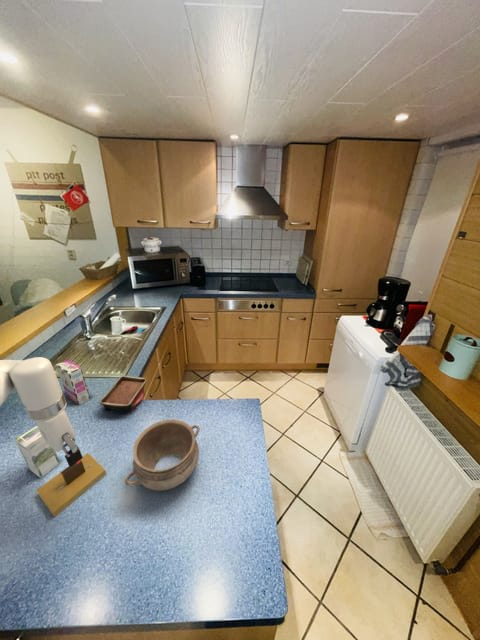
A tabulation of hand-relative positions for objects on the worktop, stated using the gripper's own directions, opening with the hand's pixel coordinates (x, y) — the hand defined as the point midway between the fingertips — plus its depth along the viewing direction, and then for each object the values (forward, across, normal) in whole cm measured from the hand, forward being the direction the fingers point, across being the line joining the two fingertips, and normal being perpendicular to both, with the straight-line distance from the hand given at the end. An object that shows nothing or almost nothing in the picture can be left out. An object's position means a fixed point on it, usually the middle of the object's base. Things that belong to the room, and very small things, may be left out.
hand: (67, 452), depth 69 cm
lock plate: (+13, 0, -1) cm, 13 cm away
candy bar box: (+13, -37, +18) cm, 43 cm away
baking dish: (+14, -18, +27) cm, 36 cm away
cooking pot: (+14, +19, +18) cm, 29 cm away
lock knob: (+10, 0, 0) cm, 10 cm away
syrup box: (+13, -13, -4) cm, 19 cm away
